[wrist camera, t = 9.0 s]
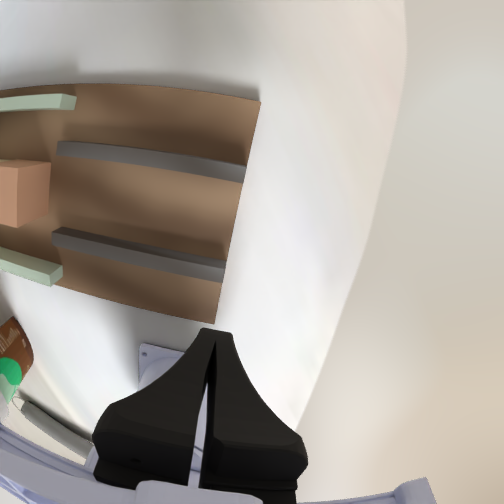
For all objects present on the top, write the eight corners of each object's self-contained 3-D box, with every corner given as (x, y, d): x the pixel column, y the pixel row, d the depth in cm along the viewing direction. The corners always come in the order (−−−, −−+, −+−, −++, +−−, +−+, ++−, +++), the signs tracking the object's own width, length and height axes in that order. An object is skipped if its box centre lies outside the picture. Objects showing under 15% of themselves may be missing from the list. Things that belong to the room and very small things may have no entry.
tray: (62, 276, 21) (50, 286, 19) (-17, 250, 20) (-30, 257, 18) (76, 96, 16) (62, 93, 14) (-12, 102, 15) (-26, 102, 13)
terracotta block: (48, 213, 19) (17, 227, 15) (15, 207, 18) (-16, 219, 15) (51, 162, 18) (18, 168, 14) (17, 159, 17) (-16, 165, 13)
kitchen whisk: (15, 381, 27) (-6, 410, 21) (232, 482, 34) (232, 517, 28) (17, 402, 29) (-1, 429, 23) (214, 493, 35) (212, 525, 29)
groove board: (215, 317, 23) (212, 335, 21) (-10, 256, 21) (-25, 265, 18) (260, 104, 18) (262, 98, 15) (-3, 92, 16) (-20, 91, 13)
